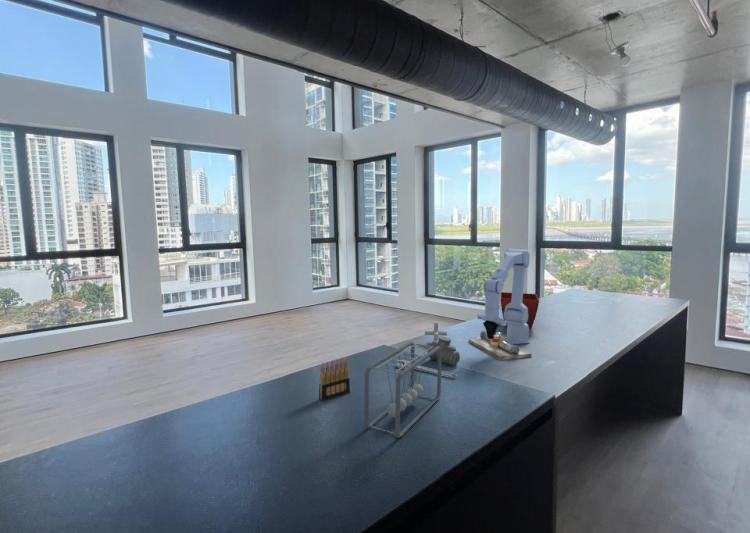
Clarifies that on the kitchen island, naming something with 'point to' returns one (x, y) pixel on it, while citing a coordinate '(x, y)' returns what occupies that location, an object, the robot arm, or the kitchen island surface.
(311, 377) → the kitchen island surface
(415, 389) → the newton's cradle
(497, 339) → the valve lever
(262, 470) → the kitchen island surface
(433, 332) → the pipe connector
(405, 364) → the adjustable wrench
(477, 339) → the valve board
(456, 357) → the pipe fitting
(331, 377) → the ammunition clip
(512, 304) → the robot arm
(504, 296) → the plant pot
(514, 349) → the valve pipe
